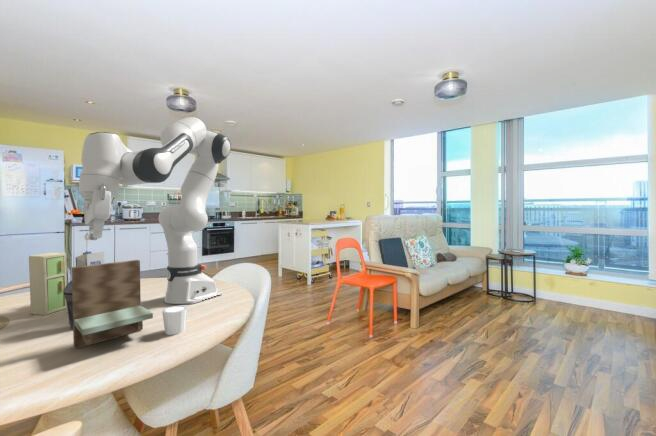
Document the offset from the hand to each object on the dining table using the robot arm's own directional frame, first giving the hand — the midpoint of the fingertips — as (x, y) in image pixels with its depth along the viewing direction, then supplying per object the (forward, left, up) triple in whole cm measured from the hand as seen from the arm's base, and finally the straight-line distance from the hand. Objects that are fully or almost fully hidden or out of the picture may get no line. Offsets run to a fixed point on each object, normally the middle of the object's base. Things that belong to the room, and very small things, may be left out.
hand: (95, 239), depth 82 cm
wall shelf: (-4, 0, -30) cm, 30 cm away
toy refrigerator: (+4, -48, -30) cm, 57 cm away
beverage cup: (0, -22, -30) cm, 37 cm away
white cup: (-19, +4, -30) cm, 36 cm away
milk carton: (-9, -53, -30) cm, 62 cm away
